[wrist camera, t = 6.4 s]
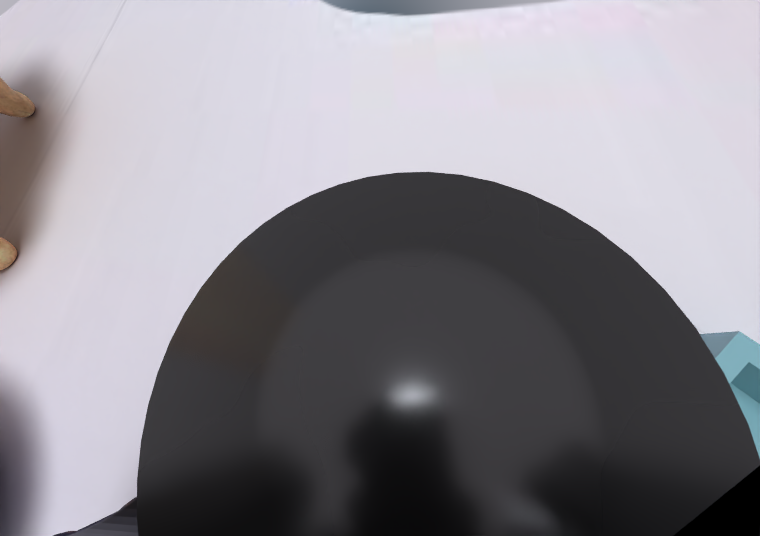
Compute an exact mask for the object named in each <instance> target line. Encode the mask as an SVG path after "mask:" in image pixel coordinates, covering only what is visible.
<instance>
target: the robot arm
mask: <svg viewBox="0 0 760 536" xmlns="http://www.w3.org/2000/svg"><path fill="white" fill-rule="evenodd" d="M69 536H138V525H137V498H136V499H134V500H133V501H132V502H130V503H129V504H128V505H126V506H125V507H124V508H122V509H121V510H119V511H118V512H116V513H115V514H113V515H112V516H110V517H108V518H106V519H104V520H103V521H101V522H99V523H97V524H95V525H93V526H91V527H89V528H87V529H84V530H82V531H79V532H77V533H74V534H72V535H69ZM759 536H760V533H759Z"/></svg>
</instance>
